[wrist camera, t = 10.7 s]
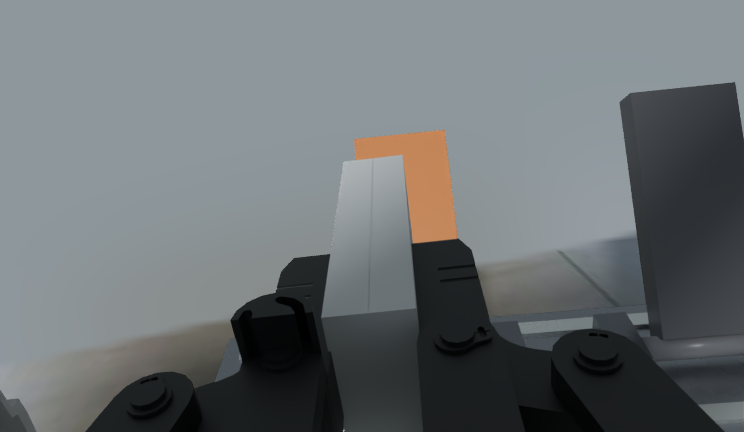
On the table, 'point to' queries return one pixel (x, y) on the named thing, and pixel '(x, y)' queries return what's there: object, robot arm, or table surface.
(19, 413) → the circuit breaker
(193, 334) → the table surface
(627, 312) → the grey slotted holder
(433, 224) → the lever
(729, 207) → the lever on
